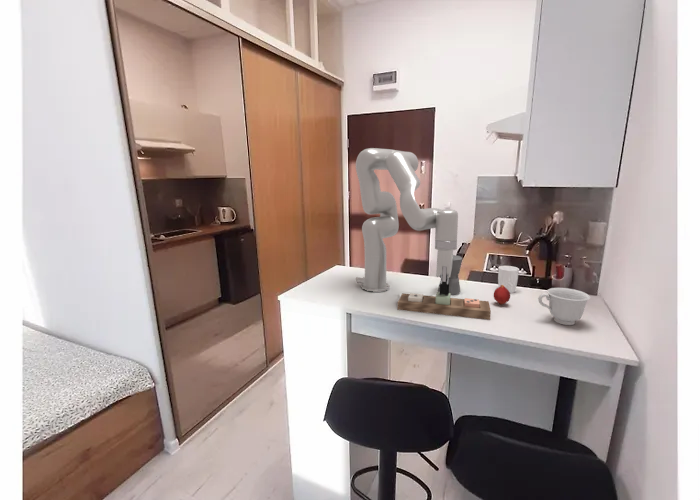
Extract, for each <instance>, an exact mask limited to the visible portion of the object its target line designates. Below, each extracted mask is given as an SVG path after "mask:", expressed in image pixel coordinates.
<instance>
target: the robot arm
mask: <svg viewBox="0 0 700 500" xmlns="http://www.w3.org/2000/svg"><path fill="white" fill-rule="evenodd" d="M418 168H419V159H418V157H417V155H416V154H415V153H413V152H411V151H403V150H397V149H396V150H395V149H389V148H380V147H379V148H377V147H375V148H374V147H370V148H365V149H363V150H362V151H360V152H359V154H358V155H357V157H356V161H355V171H356V172H355V173H356V176H357V179H358V183H359V190H360V191H359V192H360V197H361V206H362V209H363V212H364V213H365V214H367V215H380V216H376V217H370V218H368V219H366V220H364V222H363V224H362V226H361V232H362V233H361V234H362V237H363V243H364V244H363V245H364V276H363V277H358V276H357V277H356V278H355V282H357V284H361V287H362V288H363V289H365V290H367V291H366V292H368V291H373V292H372V293H381V292H382V291H383V292H386V290H387V291H388V290H390V288H391V287H390V284H389V283H387V247H386V246H387V245H386V244H385V241H384V239H386V238H392V237H394V236H396V234H398V232H399V226H400V223H399V216H398V214H399V213H398V205H397V201H396V198H395V197H394V195H393V193H391V192H390V191H383V190H382V189H381V185H380V180H379V177H378V175H377V173H376V172H375V170H381V171H382V170H384V171H385V170H386V171H387V172H388V173H389V175H390V176H391V178H392V180H393V182H394V184H395V185H396V187H397V189H398V190H399V193H400V194H399V206H400V212H401V214H402V215H403V218H404V219H405V221H406V223H407V224H408V225H409V227H410V228H411V229H413V230H415V231H418V232H419V231H424V230H431V229H434V230H435V231H434V232H435V233H434V235H435V237H434V249H435V250H437V255H436V273H435V277H436V278H440V275H441V278H440V280H441V282H440V281H439V285H440V294H445V295H448V294H449V278H450V276H451V271H452V262H453V255H454V251H455V250H458V227H459V226H458V224H459V213H458V211H457V210H455V209H440V208H437V207H427V208H421V207H420V206H419V203H418V202H417V200H416V198H415V191H417V190H418V188H419V187H420V186H421V180H420V178H419V176H418V174H417V173H416V171H417V170H418ZM381 190H382V191H381ZM362 288H361V289H362ZM363 289H362V290H363ZM365 290H364V291H365Z"/></svg>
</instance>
